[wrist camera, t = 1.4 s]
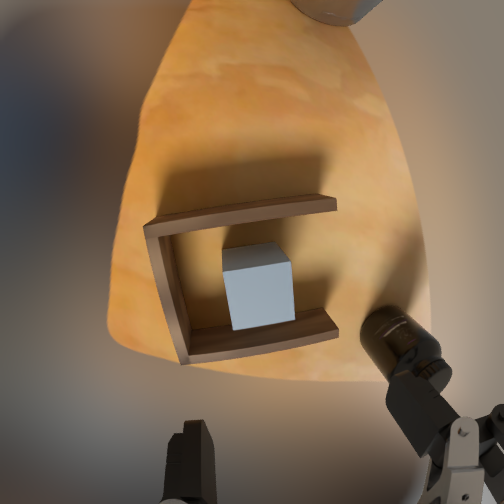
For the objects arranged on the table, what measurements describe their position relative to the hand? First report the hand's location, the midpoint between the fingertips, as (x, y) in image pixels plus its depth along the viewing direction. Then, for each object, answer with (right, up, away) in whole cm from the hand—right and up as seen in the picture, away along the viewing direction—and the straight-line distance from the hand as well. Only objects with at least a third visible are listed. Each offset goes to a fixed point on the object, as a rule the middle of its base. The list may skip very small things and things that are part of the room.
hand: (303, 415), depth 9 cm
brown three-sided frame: (-3, +5, +17) cm, 17 cm away
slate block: (-2, +5, +17) cm, 18 cm away
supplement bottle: (+14, -3, +21) cm, 25 cm away
